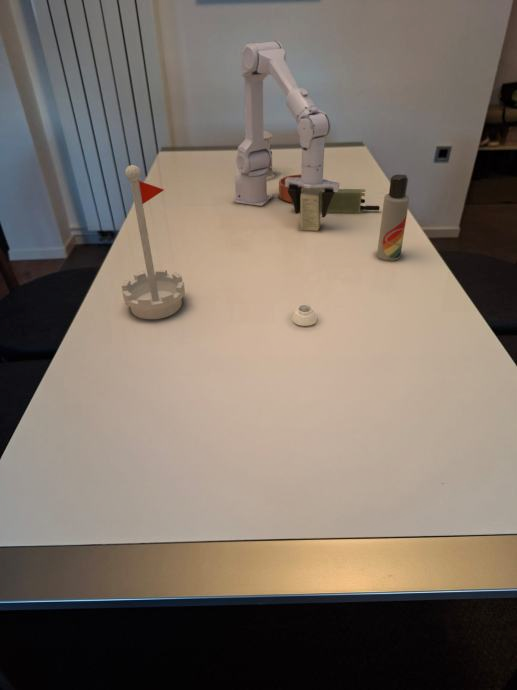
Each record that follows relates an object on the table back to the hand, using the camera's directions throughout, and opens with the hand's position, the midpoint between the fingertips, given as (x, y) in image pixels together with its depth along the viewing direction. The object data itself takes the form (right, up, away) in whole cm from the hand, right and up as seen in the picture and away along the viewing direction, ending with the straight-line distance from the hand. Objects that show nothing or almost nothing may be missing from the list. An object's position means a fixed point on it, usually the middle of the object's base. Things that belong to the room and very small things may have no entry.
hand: (310, 214), depth 137 cm
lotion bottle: (+18, -14, -13) cm, 26 cm away
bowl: (-1, +11, +22) cm, 25 cm away
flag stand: (-37, -28, -29) cm, 54 cm away
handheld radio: (+9, +4, +11) cm, 15 cm away
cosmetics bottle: (0, -3, +3) cm, 4 cm away
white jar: (-5, -31, -35) cm, 47 cm away
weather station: (-13, +25, +41) cm, 49 cm away
